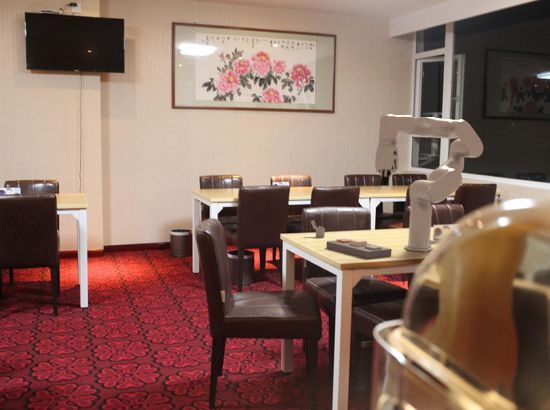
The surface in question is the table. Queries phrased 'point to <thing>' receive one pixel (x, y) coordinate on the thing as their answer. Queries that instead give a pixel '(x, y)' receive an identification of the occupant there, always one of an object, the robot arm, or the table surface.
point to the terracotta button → (343, 240)
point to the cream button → (358, 243)
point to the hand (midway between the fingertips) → (384, 185)
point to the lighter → (318, 230)
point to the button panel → (358, 250)
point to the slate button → (373, 247)
